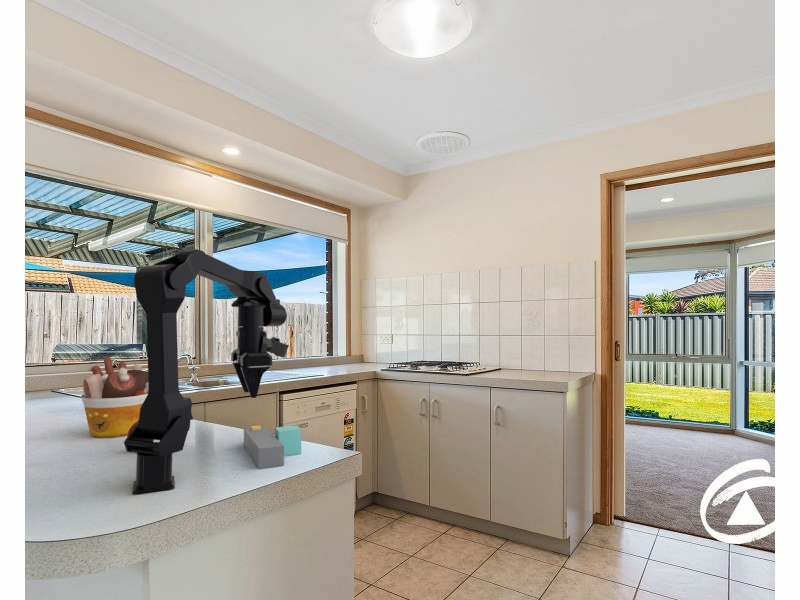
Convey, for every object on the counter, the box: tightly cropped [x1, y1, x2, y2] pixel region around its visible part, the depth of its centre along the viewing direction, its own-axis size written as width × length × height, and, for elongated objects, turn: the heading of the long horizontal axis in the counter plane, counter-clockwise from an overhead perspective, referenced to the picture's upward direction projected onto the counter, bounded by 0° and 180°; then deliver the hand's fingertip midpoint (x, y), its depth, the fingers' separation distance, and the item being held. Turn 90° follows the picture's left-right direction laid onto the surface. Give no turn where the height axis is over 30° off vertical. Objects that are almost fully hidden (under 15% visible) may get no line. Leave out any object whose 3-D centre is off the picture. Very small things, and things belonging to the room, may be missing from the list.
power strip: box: [243, 425, 285, 470], centre depth 106 cm, size 24×5×5 cm, turn 27°
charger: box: [274, 425, 302, 457], centre depth 105 cm, size 4×7×6 cm, turn 117°
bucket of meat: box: [81, 356, 149, 439], centre depth 127 cm, size 20×16×20 cm
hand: (250, 394), depth 109 cm, fingers open, 9 cm apart
